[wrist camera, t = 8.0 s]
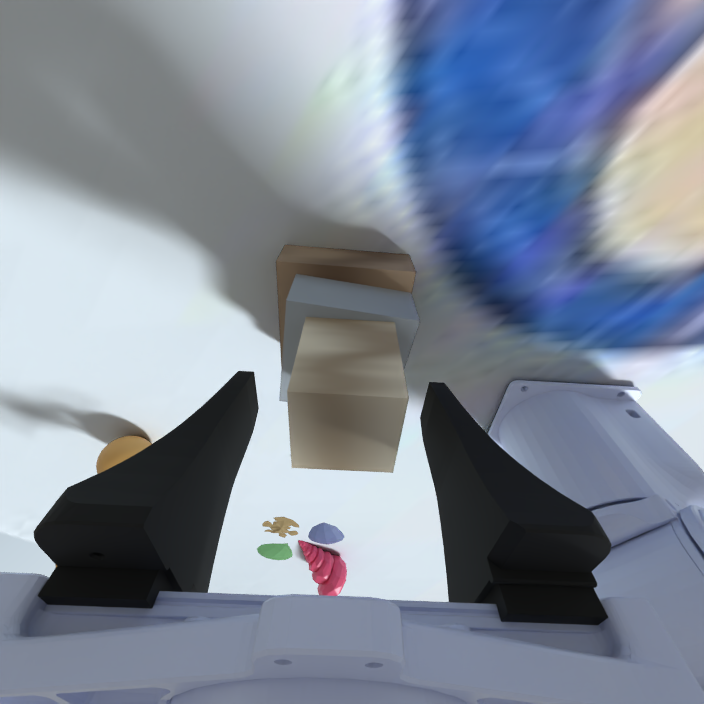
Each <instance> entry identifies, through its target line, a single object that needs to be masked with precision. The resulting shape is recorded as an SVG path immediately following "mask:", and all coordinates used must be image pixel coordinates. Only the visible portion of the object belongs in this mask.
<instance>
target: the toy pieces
mask: <svg viewBox="0 0 704 704" xmlns="http://www.w3.org/2000/svg"><path fill="white" fill-rule="evenodd" d="M274 519H275V520H276V521H277V522H273V525H272V524H271V522H269V521H266V522H264V523H263V526H267V527H270V528H271V529H272V530H273V531H272V530H265V531H266V532H271V533H279V536H281V537H284V538H285V536H286V534H285V533H289V534H290V535H297V534H298V533H297V531H288V530H287V529H290V528H291V527H288V526H291V525H292V526H294V527H299V525H298V524H297V523H296V522H294V521H293V520H291V519H288V518H285V517H275V518H274ZM308 537H309V539H311V540H312V541H314V542H317V543H322V544H332V543H336V542H339V541H341V540H342V539H343V538H344V535H343V533H342V532H341V531H340V530H339V529H338V528H337V527H335V526H332V525H330V524H327V523H321V524H319V525H316V526H314V527H313V528H312V529H311V531H310V532H309V536H308ZM298 542H299V545H300V547H301V548H302V551H303V554H304V556H306V557H305V559H306V561H307V563H309V570H311V571H313V573H312V577H313V580H314V581H315V582H316V583H318V584H319V586H318V593H319V595H324V596H337V595H338V594H339V593H340V592H341V590H342V588H343V585H344V583H345V581H346V575H347V573H346V572H347V570H346V563H345V562H344V561H343V560H342V559H341V557H340V556H338V555H331V554H330V552H329V551H323V550H322V549H321V548H317V547H316V546H315V545H313V546H312V545H311V544H308V543H306V542H304V541H300V540H298ZM257 550H258V553H259V554H261V555H262V556H264V557H266V558H269V559H274V560H286V559H288V558H290V557H292V551H291V549H290V548H289V546H288V543H287V544H264V545H261V546H260V547H258V549H257Z"/></svg>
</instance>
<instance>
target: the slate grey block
mask: <svg viewBox="0 0 704 704" xmlns="http://www.w3.org/2000/svg"><path fill="white" fill-rule="evenodd" d="M306 317H318V318H334V319H351V320H368V321H384V322H395V326H396V332H397V337H398V343H399V348H400V353H401V359H402V364H403V370H404V368H405V365H406V362H407V359H408V356H409V353H410V350H411V347H412V344H413V341H414V338H415V335H416V332H417V329H418V326H419V323H420V319H419V316H418V313H417V310H416V307H415V304H414V301H413V298H412V294H411V293H410V292H404V291H398V290H392V289H386V288H380V287H374V286H368V285H361V284H355V283H349V282H343V281H337V280H331V279H325V278H319V277H313V276H307V275H300V274H296V275H295V278H294V281H293V283H292V286H291V289H290V291H289V294H288V297H287V299H286V311H285V326H284V341H283V356H282V371H281V386H280V400H279V401H285V402H288V399H287V390H288V386H289V382H290V378H291V374H292V370H293V366H294V362H295V358H296V354H297V350H298V346H299V342H300V338H301V334H302V330H303V326H304V322H305V318H306Z"/></svg>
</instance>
